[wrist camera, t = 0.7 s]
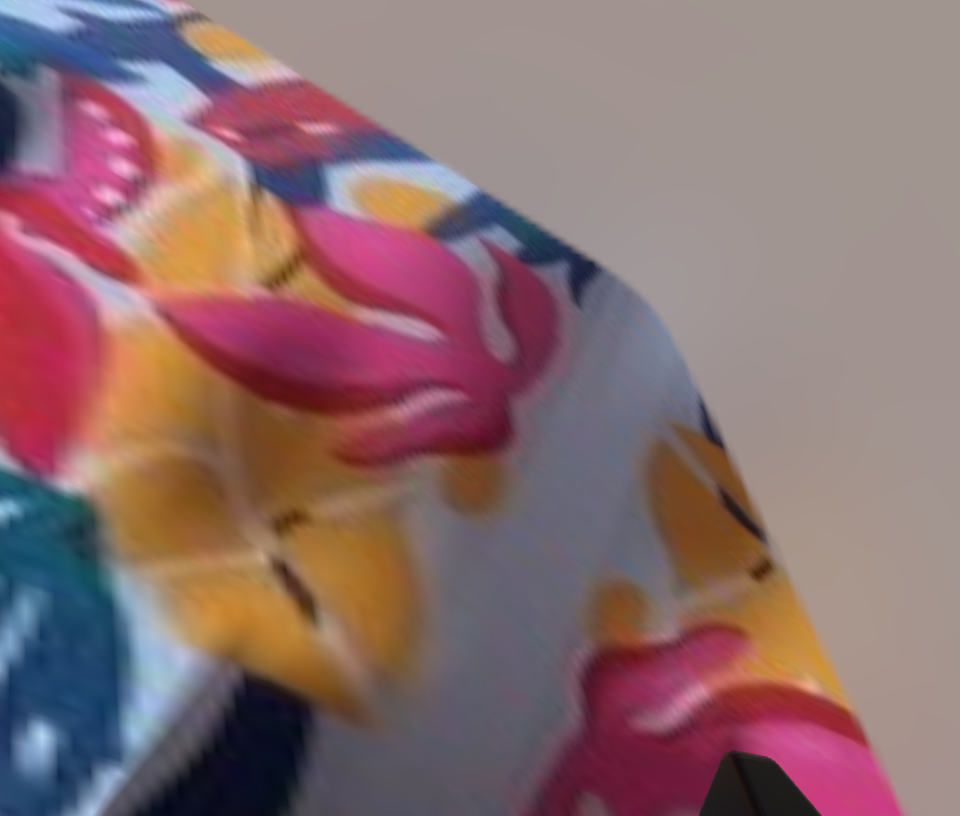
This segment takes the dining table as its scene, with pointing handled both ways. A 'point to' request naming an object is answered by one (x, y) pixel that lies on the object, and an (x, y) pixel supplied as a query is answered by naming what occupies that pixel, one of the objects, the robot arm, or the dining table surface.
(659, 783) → the dining table surface
